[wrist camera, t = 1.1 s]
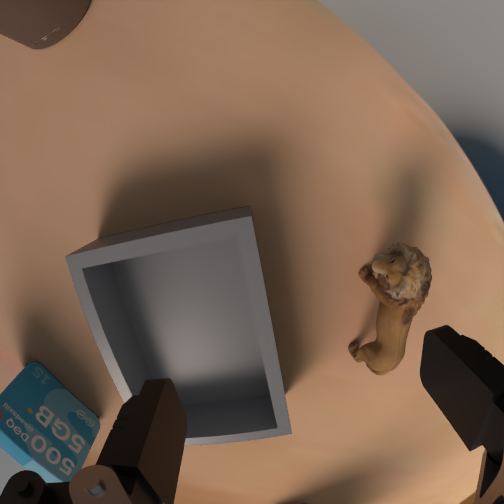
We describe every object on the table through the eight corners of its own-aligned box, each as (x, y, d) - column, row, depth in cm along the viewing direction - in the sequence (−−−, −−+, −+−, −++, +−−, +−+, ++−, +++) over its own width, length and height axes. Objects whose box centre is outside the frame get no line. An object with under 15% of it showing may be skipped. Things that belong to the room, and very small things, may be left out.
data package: (104, 420, 33) (73, 489, 21) (88, 431, 33) (58, 493, 22) (35, 356, 30) (-16, 413, 18) (23, 371, 31) (-23, 424, 19)
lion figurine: (343, 231, 27) (386, 258, 18) (395, 224, 27) (450, 247, 18) (346, 366, 31) (373, 423, 22) (390, 356, 31) (426, 406, 22)
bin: (97, 239, 27) (65, 256, 21) (249, 205, 26) (251, 215, 21) (160, 409, 32) (149, 446, 26) (285, 395, 32) (292, 433, 26)
